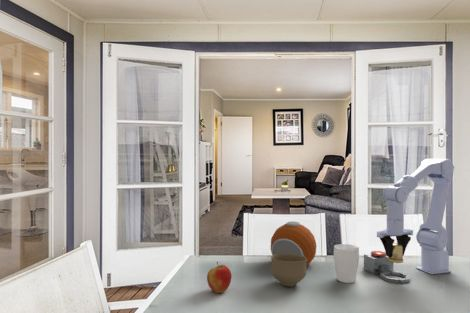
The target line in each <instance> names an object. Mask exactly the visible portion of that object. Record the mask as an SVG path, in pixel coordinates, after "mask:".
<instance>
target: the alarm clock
mask: <svg viewBox="0 0 470 313" xmlns="http://www.w3.org/2000/svg"><path fill="white" fill-rule="evenodd" d="M270 252H271V253H270V254H271V256H272V255H276V254H294V255H300V256H304V257H306V258H307V262H306V268H307V267H308V266H309V265H310V264H311V263H312V261H313V260H314V258H315V256H316V255H317V254H316V253H317V242H316V238H315V235H314V234H313V233H312V231H311V230H310V229H309V228H308V227H306V226H305V225H303V224H301V223H300V222H299V221H287V222H286V223H285V224H283V225H280V226H279V227H278V228H277V229H275V231H274V232H273V235H272V237H271V239H270Z"/></svg>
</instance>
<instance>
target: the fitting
mask: <svg viewBox="0 0 470 313" xmlns="http://www.w3.org/2000/svg"><path fill="white" fill-rule="evenodd" d="M388 261H390V262H393V264H401V263H404V256H403V245H402V244H399V243H397V242H394V243H393V248H392V257H388Z"/></svg>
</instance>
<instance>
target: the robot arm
mask: <svg viewBox="0 0 470 313" xmlns="http://www.w3.org/2000/svg"><path fill="white" fill-rule="evenodd" d="M454 170H455V166H454V164H453V161H452V160H451V159H449V158H425V159H423V160H422V161H421V162H420V166H419V167H418V168H417V169H415V171H413V172H412V173H411V174H410V175H409V174H405V175H403V176H402V178H401V179H399V180H397V182H395V183H394V184H393V185H389V186H387V187H386V188H385V189H384V190H383V193H382V197H383V199H384V202H385V203H384V204H385V206H386V228H385V229H384V230H379V231H376V237H377V238H379V240H380V241H381V243H382V245H383V249H384V252H385V253H386V256H388V257H392V248H393V243H395V239H396V243H399V244H402V245H403V257H404V255H405V253H406V249H407V248H408V247H407V246H408V245H409V243H410V241H411V239H412V238H411V236H414V230H413V229H410V228H407V229H406V228H404V226H405V220H404V218H405V217H404V216H405V214H404V212H405V209H404V208H405V207H404V206H405V203H406V202H407V199H408V197H409V196H410V193H412V192H413V191H414V190H415V189H417V187H418V184H419V182H420V181H422V180H423V179H425V178H428V179H429V180H431V181H432V182H433V188H432V193H431V199H430V202H429V207H428V208H429V209H428V212H427V213H428V214H427V217H426V221H425V222H423V223H421V224H420V226H419V228H418V231H417V233H416V235H415V239H416V242H417V243H418V244H419V247H420V250H421V251H420V252H421V253H420V254H421V255H420V260H421V261H420V266H415V269H418V270H419V271H422V272H425V273H427V274H430V275H437V274H444V273H451V272H452V271H451V270H450V264H449V263H450V255H449V252H448V250H447V248H446V247H447V245H448V244H449V243H448V241H449V238H448V230H447V229H446V228H445V227H444V225H443V220H444V216H445V215H444V214H445V210H446V205H447V202H448V201H447V200H448V194H449V190H450V185H451V182H452V179H453V176H454ZM392 237H395V239H394V238H392Z"/></svg>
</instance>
